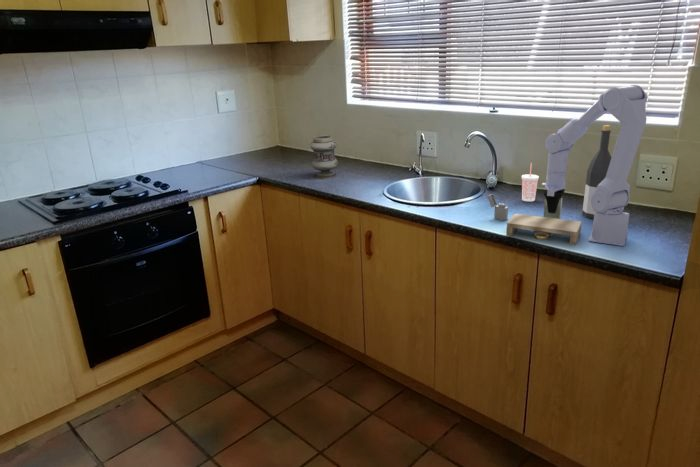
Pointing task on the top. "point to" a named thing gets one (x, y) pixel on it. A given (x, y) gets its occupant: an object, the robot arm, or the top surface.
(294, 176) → the top surface
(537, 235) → the brass token
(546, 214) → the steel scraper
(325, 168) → the apothecary jar
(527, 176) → the beverage cup
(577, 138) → the robot arm
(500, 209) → the lighter
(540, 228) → the oak shelf
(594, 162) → the wine bottle
